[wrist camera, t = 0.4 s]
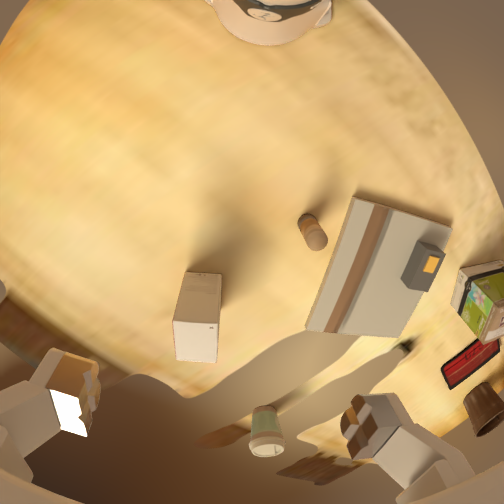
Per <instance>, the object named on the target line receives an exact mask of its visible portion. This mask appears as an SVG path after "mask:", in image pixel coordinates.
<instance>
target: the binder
mask: <svg viewBox="0 0 504 504" xmlns="http://www.w3.org/2000/svg"><path fill="white" fill-rule="evenodd" d="M499 352H500V346H499V340H498V339H496V340H494V341H492V342H489V343H487V344H484V345H483V344H482V343H481V341H480V340H479V339H477V340H476V341H474V342H473V343H472V344H471V345H470V346H468V347H467V348H466V349H465V350H464V351H462V352H461V353H460V354H459V355H457V356H456V357H454V358H453V359H451V360H449V361H447V362H446V363H445V364H444V365H443V366H442V367H441V372H442V374H443V377H444V379H445V381H446V382H447V384H448V388H449V389H450V390H452V389H453V388H455V387H456V386H457V385H459V384H460V383H461V382H463V381H464V380H465V379H467V378H468V377H469V376H471V375H472V374H473V373H474V372H476V371H477V370H478V369H479V368H481V367H482V366H483V365H484V364H486V363H487V362H488V361H489V360H491V359H492V358H493V357H494V356H495V355H496V354H498V353H499Z"/></svg>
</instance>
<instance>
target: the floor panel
mask: <svg viewBox="0 0 504 504" xmlns="http://www.w3.org/2000/svg"><path fill="white" fill-rule="evenodd" d="M452 230H453V229H452V228H450V227H449V226H447V225H444V224H441V223H438V222H435V221H432V220H429V219H426V218H423V217H420V216H417V215H414V214H411V213H408V212H405V211H401V210H398V209H395V208H392V207H388V206H385V205H382V204H378V203H375V202H371V201H368V200H364V199H361V198H357V197H354V196H352V199H351V202H350V205H349V208H348V211H347V214H346V217H345V220H344V223H343V226H342V229H341V231H340V234H339V237H338V240H337V243H336V246H335V248H334V251H333V254H332V257H331V259H330V262H329V265H328V268H327V270H326V273H325V276H324V278H323V281H322V283H321V286H320V289H319V291H318V294H317V296H316V299H315V301H314V304H313V306H312V309H311V311H310V314H309V316H308V319H307V321H306V323H305V328H306V330H309V331H319V332H329V333H339V334H351V335H363V336H377V337H392V338H399V336H400V334H401V333H402V331H403V329H404V328H405V326H406V324H407V322H408V321H409V319H410V317H411V315H412V313H413V312H414V310H415V308H416V306H417V304H418V302H419V300H420V299H421V297H422V295H423V293H424V291H418V290H412V289H408V288H407V287H406V285H405V284H404V283H403V282H402V280H401V279H400V278H401V276H402V273H403V271H404V269H405V267H406V265H407V262H408V260H409V258H410V256H411V253H412V251H413V249H414V246H415V244H416V241H417V240H418V241H422V242H425V243H429V244H432V245H436V246H437V247H438V248H439V249H441V250H442V251H444V249H445V246H446V244H447V242H448V239H449V237H450V234H451V232H452Z"/></svg>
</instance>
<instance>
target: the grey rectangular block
mask: <svg viewBox="0 0 504 504" xmlns="http://www.w3.org/2000/svg"><path fill="white" fill-rule="evenodd" d="M445 255H446V254H445V253H444V252H443V251H442V250H441V249H439V248H438V247H437V246H436V245H432V244H429V243H425V242H422V241H418V240H417V241H416V244H415V246H414V249H413V251H412V253H411V256H410V258H409V260H408V262H407V265H406V267H405V269H404V271H403V273H402V276H401V278H400V279H401V280H402V282H403V283H404V284H405V285H406V287H407V288H408V289H412V290H418V291H424V292H428V290H429V288H430V286H431V284H432V282H433V280H434V278H435V276H436V274H437V272H438V270H439V268H440V266H441V264H442V262H443V259H444V257H445Z"/></svg>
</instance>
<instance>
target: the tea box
mask: <svg viewBox="0 0 504 504" xmlns="http://www.w3.org/2000/svg"><path fill="white" fill-rule="evenodd" d="M451 306H452V307H453V308H454V309H455V311H456V312H457V313H458V314H459V315H460V317H461V318H462V319H463V320H464V321H465V323H466V324H467V325H468V326H469V328H470V329H471V330H472V331H473V332H474V334H475V335H476V336H477V338H478V339H479V340H480V341H481V343H482V344H483V345H484V344H487V343H489V342H492V341H494V340H496V339H498V338H501V337H503V336H504V262H503V261H502V260H498V261H494V262H489V263H485V264H480V265H476V266H471V267H467V268H462V269H460V270H459V274H458V277H457V281H456V285H455V289H454V293H453V296H452V300H451Z"/></svg>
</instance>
